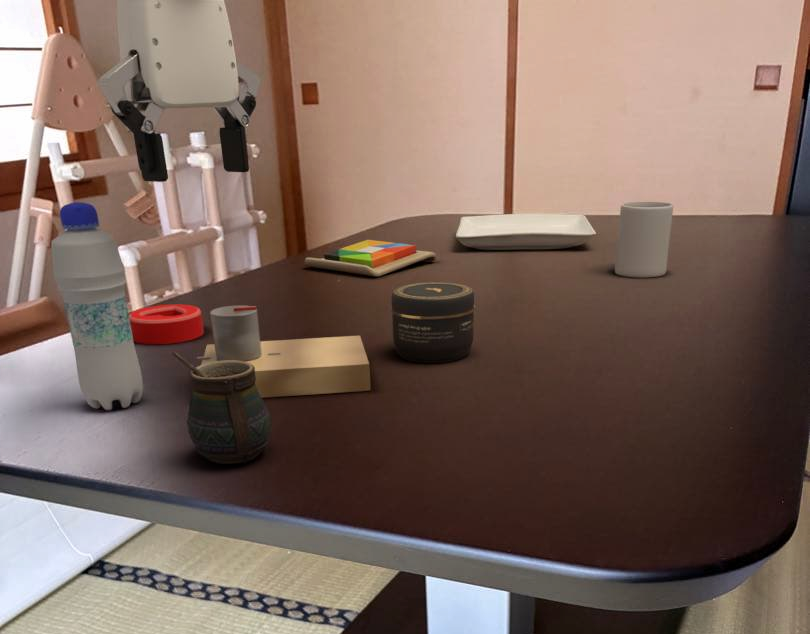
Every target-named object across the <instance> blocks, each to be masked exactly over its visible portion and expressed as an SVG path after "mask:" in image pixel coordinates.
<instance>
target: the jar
mask: <svg viewBox="0 0 810 634" xmlns="http://www.w3.org/2000/svg"><path fill="white" fill-rule="evenodd" d="M475 310H476V305H475V292H474V290H473V288H471V287H470V286H468V285H464V284H461V283H454V282H442V281H441V282H440V281H439V282H438V281H437V282H436V281H435V282H434V281H433V282H418V283H410V284H406V285H402V286H398V287H397V288H395V289H394V290H393V291H392V292H391V310H390V311H391V313H392V314H391V316H392V339H393V345H394V348H395V350H396V353H397V354H398V355H399V357H401V358H402V359H404V360H406V361H410V362H414V363H422V364H438V363H449V362H454V361H458V360H461V359H463V358H465V357H466V356H467V355H468V354H469V353H470V351H471V349H472V345H473V341H474V329H475V328H474V327H475V325H474V323H475V321H474V319H475Z"/></svg>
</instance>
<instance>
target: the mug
mask: <svg viewBox="0 0 810 634" xmlns="http://www.w3.org/2000/svg"><path fill="white" fill-rule="evenodd" d="M619 210H620V211H619V222H618V233H617V245H616V256H615V264H614V273H615V274H616V275H618V276H621V277H627V278H637V279H638V278H640V279H641V278H642V279H643V278H644V279H645V278H646V279H647V278H648V279H649V278H657V277H662V276H664V275H666V273H667V268H668V258H669V257H668V256H669V247H670V241H671V240H670V238H671V229H672V222H673V214H674V204H672V203H671V202H664V201H663V202H662V201H631V202H625V203H622V204H621V205H620V209H619Z"/></svg>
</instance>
